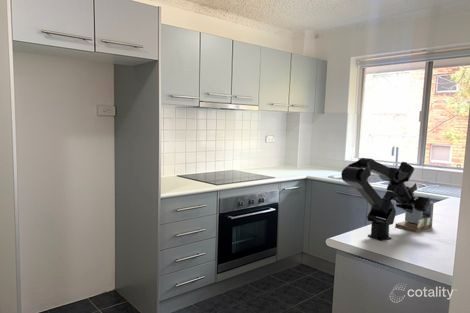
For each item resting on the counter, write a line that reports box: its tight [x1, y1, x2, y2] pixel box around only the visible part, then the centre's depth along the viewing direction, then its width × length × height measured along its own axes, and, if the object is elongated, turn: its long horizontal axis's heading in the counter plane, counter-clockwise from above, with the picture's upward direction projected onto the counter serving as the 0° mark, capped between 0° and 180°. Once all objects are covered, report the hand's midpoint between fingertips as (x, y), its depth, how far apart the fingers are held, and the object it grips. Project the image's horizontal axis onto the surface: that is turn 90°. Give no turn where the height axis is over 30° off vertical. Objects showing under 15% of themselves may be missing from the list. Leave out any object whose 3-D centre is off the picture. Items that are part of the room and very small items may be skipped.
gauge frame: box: [395, 217, 433, 233], centre depth 159 cm, size 14×9×5 cm, turn 126°
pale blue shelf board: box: [404, 208, 429, 224], centre depth 158 cm, size 4×9×9 cm, turn 36°
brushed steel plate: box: [422, 201, 434, 225], centre depth 162 cm, size 2×9×10 cm, turn 36°
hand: (411, 212), depth 157 cm, fingers closed
